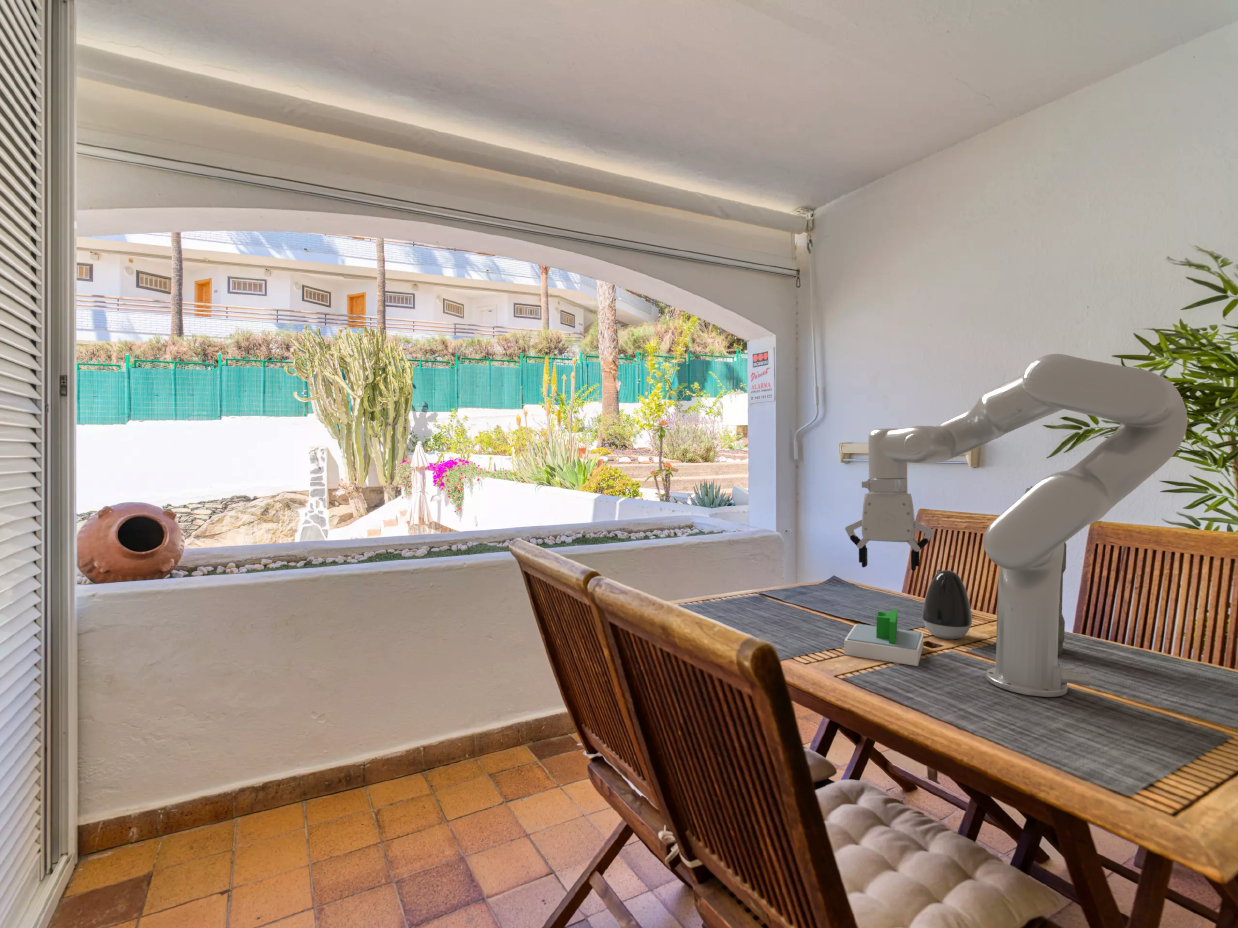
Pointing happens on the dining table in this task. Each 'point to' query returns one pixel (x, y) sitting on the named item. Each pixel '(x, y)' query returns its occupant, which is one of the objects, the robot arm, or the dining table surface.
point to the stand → (884, 645)
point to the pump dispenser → (947, 606)
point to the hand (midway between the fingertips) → (888, 568)
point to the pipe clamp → (887, 625)
